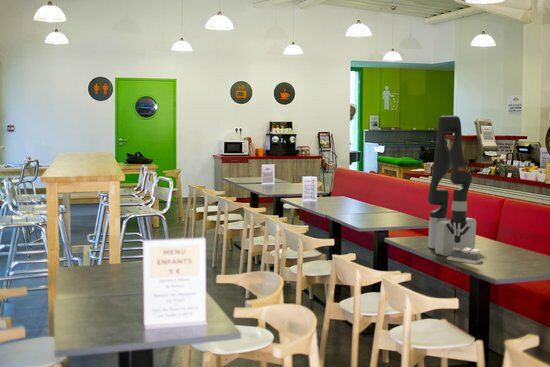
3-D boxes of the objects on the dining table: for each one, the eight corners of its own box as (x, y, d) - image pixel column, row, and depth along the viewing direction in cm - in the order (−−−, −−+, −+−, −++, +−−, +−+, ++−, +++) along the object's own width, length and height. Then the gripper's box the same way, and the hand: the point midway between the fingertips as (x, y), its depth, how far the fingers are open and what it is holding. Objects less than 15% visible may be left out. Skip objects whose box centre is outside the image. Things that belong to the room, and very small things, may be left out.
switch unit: (454, 256, 353) (455, 249, 353) (482, 260, 344) (483, 254, 344) (446, 259, 346) (447, 252, 345) (475, 264, 337) (475, 257, 336)
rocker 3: (473, 250, 346) (473, 248, 346) (479, 251, 344) (479, 249, 344) (470, 253, 342) (470, 251, 342) (476, 254, 340) (476, 252, 340)
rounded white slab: (462, 248, 377) (464, 216, 375) (474, 250, 371) (476, 218, 369) (431, 253, 359) (432, 220, 357) (442, 256, 353) (444, 222, 351)
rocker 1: (456, 249, 351) (457, 247, 351) (462, 250, 349) (463, 248, 349) (453, 249, 347) (453, 247, 347) (459, 250, 345) (459, 248, 345)
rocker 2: (465, 249, 349) (465, 247, 348) (471, 250, 347) (471, 247, 346) (461, 252, 345) (461, 250, 345) (467, 253, 343) (467, 251, 343)
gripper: (474, 210, 344) (472, 243, 346) (450, 207, 352) (448, 240, 354) (468, 211, 338) (466, 245, 340) (444, 208, 346) (442, 241, 348)
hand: (457, 242), depth 347 cm, fingers closed
